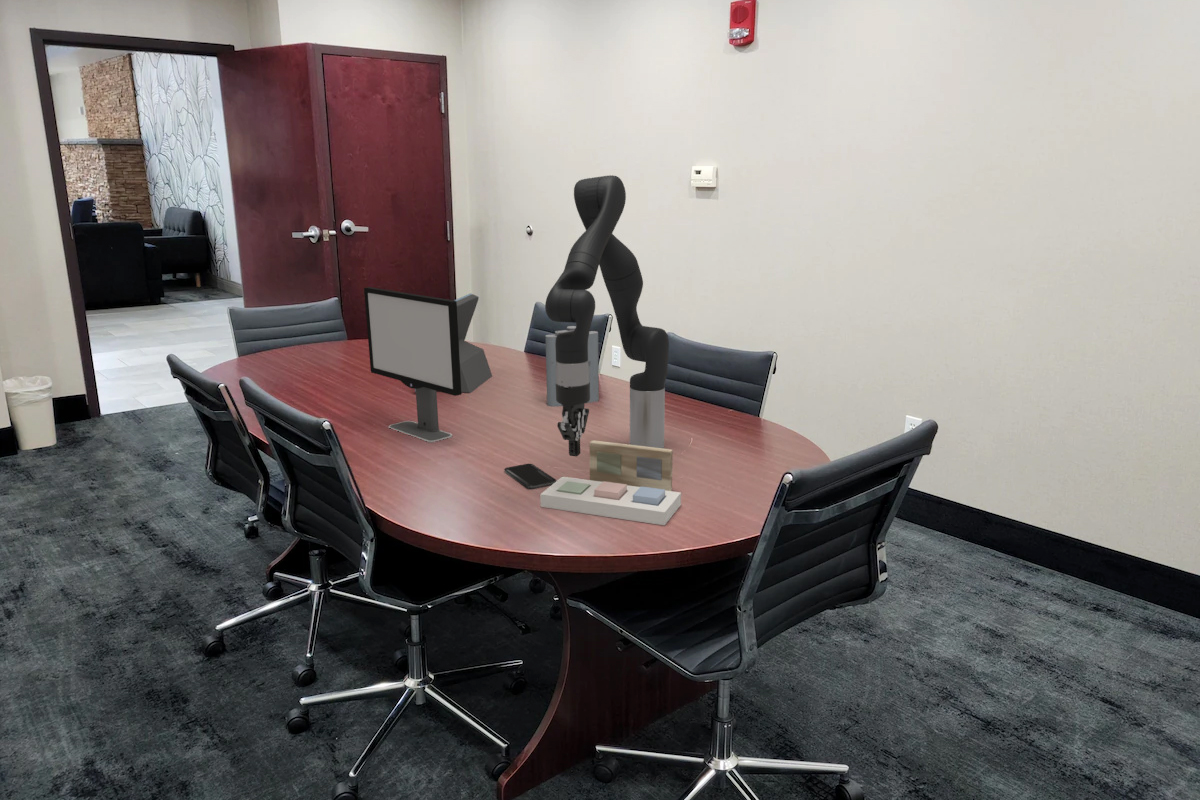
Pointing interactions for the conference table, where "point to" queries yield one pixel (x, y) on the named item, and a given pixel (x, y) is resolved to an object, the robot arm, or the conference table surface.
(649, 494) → the key slate
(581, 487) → the key sage
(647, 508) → the keypad
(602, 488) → the key rose
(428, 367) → the computer monitor
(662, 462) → the card
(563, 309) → the robot arm
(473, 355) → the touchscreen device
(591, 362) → the flask
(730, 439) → the conference table surface
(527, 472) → the phone
